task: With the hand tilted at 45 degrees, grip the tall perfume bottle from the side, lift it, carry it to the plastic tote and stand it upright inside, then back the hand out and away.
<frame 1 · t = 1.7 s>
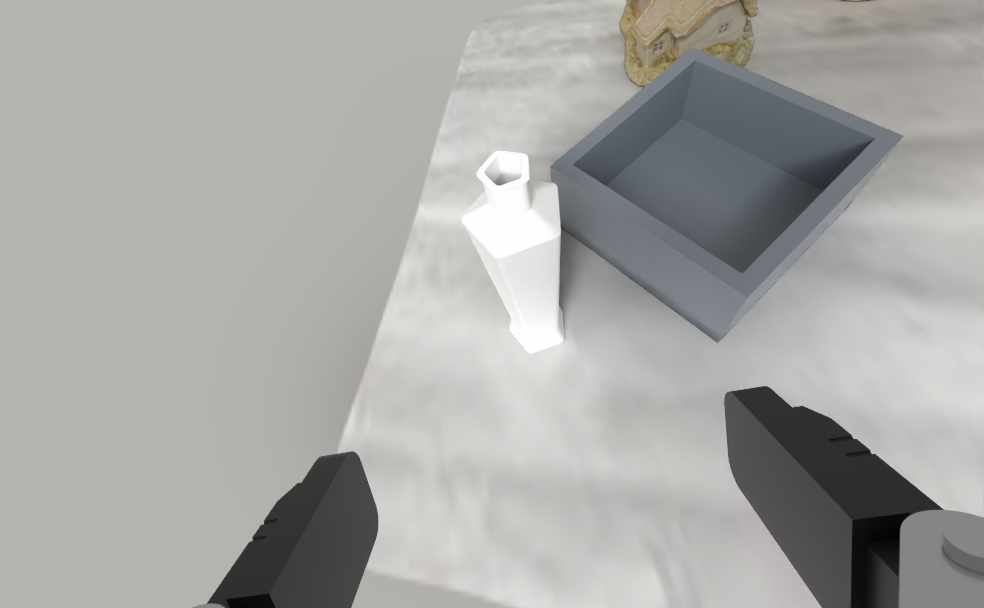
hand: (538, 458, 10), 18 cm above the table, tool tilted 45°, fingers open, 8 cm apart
tote: (694, 214, 33), on the table
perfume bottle: (535, 327, 31), on the table
ceramic model: (676, 43, 42), on the table
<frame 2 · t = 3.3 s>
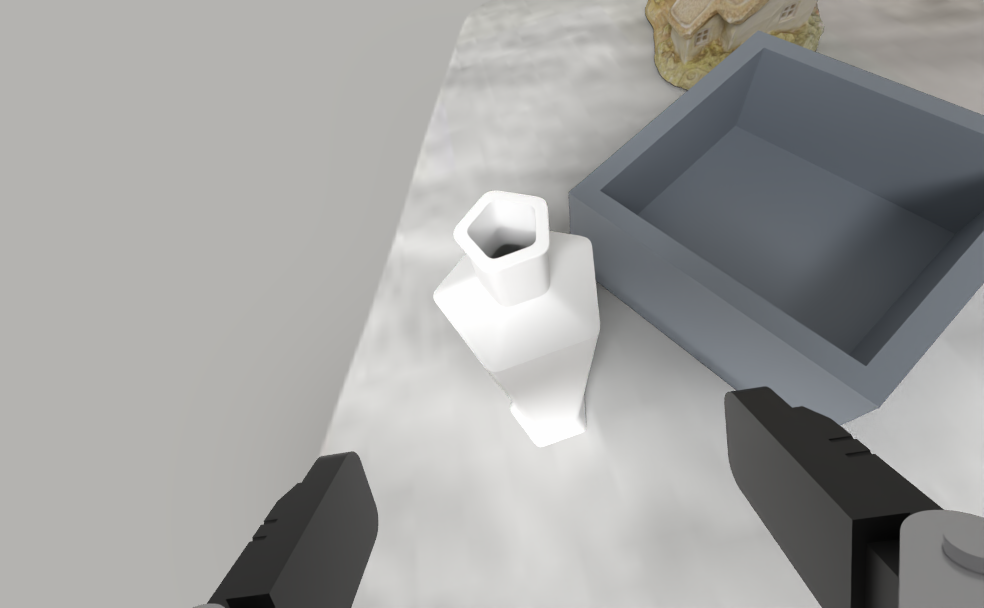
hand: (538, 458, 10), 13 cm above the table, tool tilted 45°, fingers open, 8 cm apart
tote: (758, 253, 25), on the table
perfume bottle: (546, 408, 23), on the table
ceramic model: (717, 33, 34), on the table
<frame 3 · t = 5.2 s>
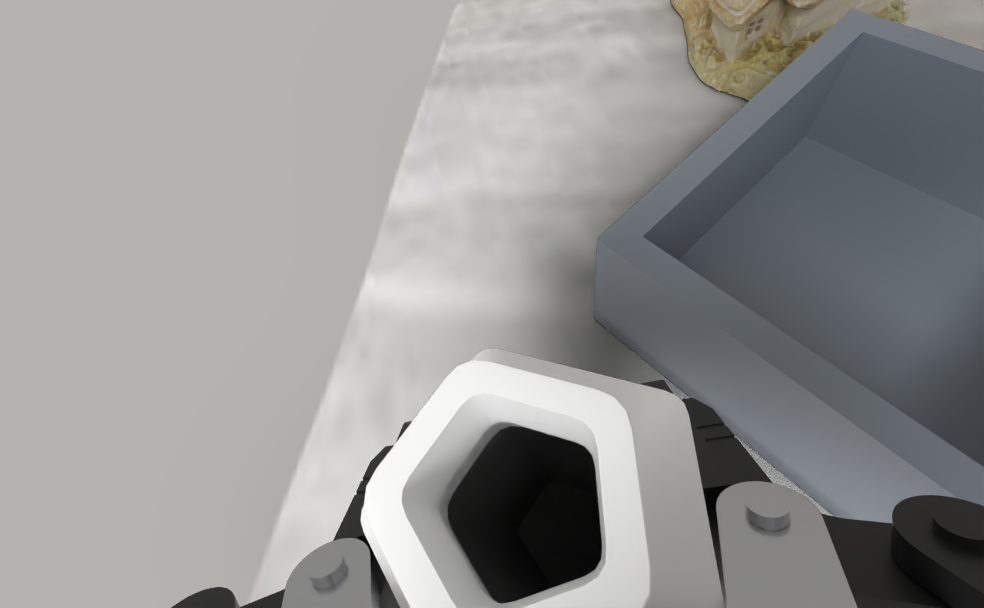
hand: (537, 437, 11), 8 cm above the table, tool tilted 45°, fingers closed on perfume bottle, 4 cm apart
tote: (848, 311, 18), on the table
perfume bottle: (564, 533, 17), on the table, touching gripper
ceramic model: (764, 24, 27), on the table
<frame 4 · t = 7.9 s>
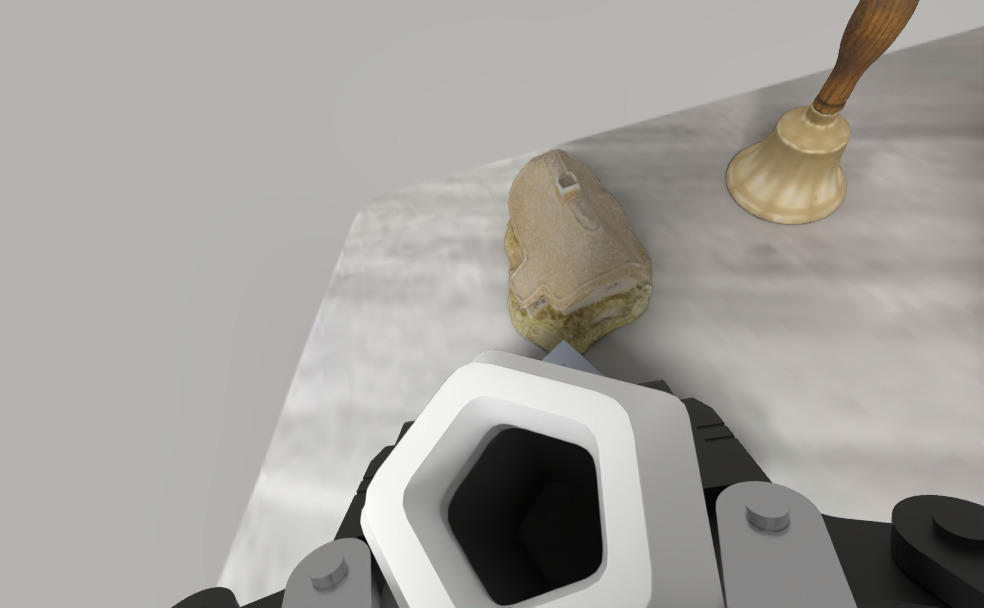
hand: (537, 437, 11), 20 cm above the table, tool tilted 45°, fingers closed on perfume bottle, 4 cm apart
tote: (569, 534, 27), on the table
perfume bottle: (563, 534, 17), point 12 cm above the table, touching gripper
hand bell: (782, 184, 36), on the table
ceramic model: (568, 268, 36), on the table
when the fingers open (10 cm above the table, at t = 10.3 s): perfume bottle drops 1 cm, resting on tote.
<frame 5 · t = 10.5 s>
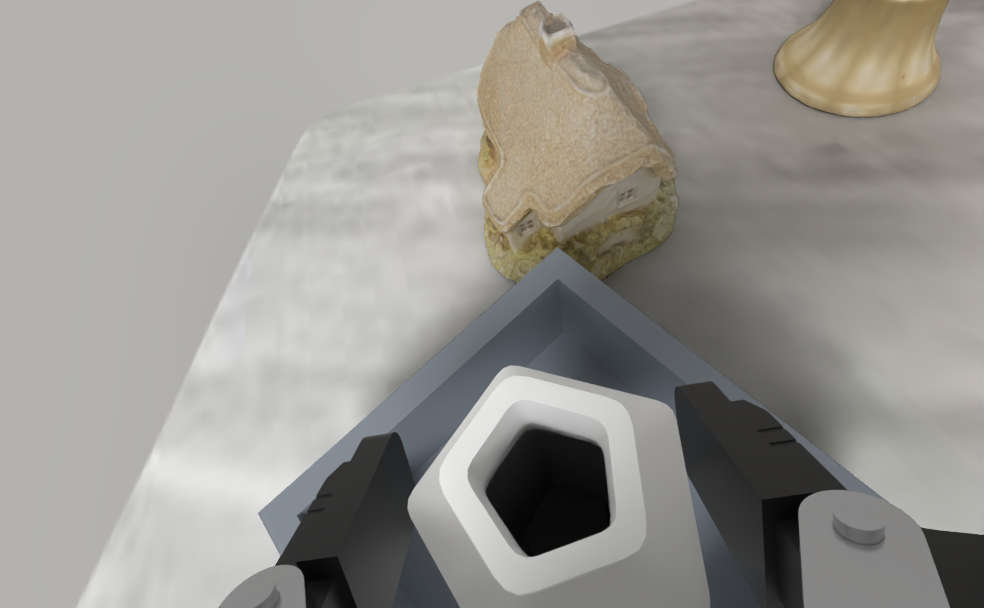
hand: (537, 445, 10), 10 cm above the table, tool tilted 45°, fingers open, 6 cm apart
tote: (567, 534, 19), on the table
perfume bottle: (565, 538, 18), point 1 cm above the table, touching tote
hand bell: (850, 71, 27), on the table
ceramic model: (563, 192, 27), on the table
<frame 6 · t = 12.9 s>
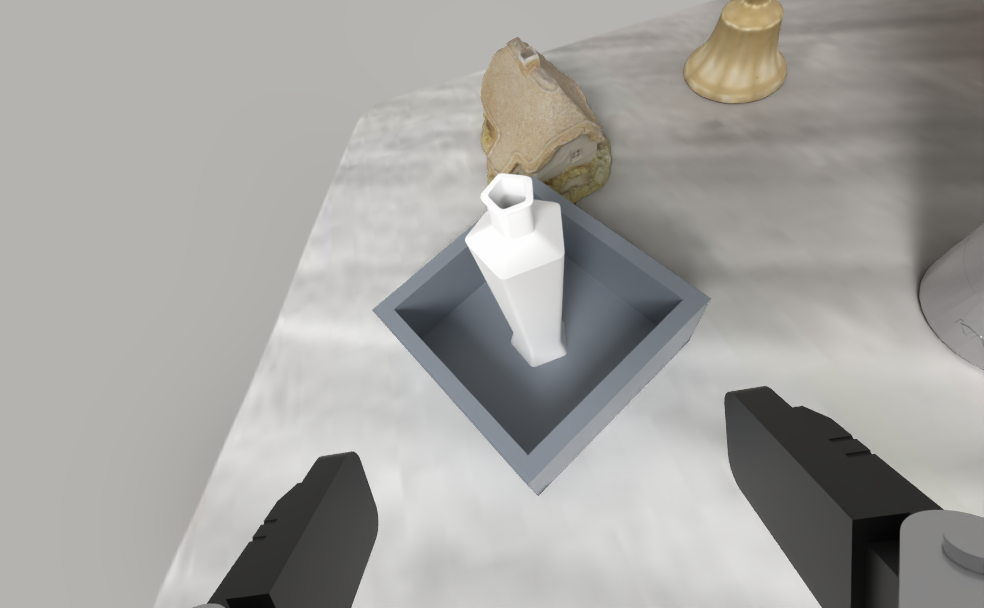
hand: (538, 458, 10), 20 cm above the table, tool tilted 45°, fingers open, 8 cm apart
tote: (539, 343, 32), on the table
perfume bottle: (537, 340, 31), point 1 cm above the table, touching tote
hand bell: (732, 73, 41), on the table
ceramic model: (539, 158, 41), on the table
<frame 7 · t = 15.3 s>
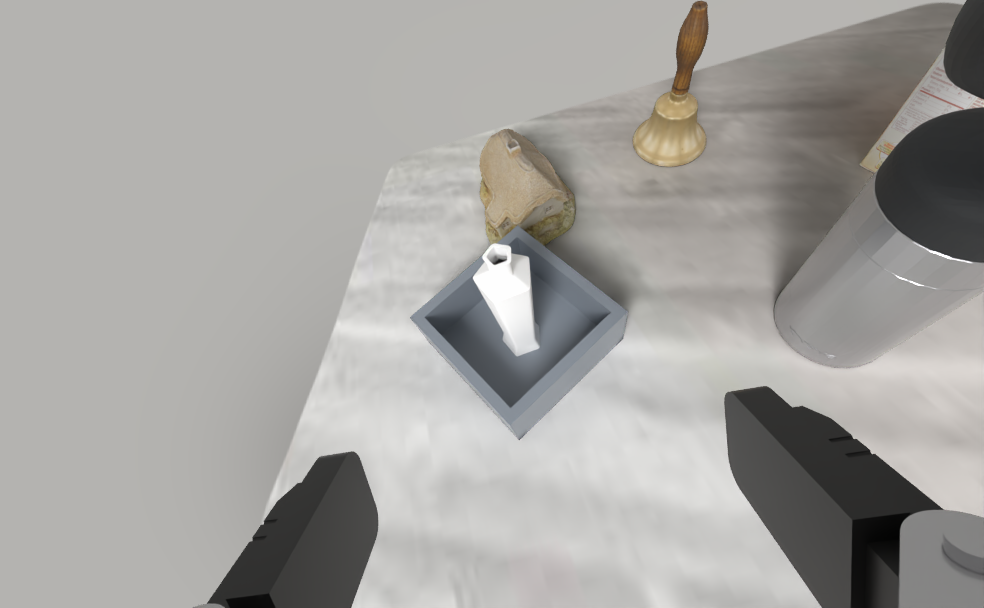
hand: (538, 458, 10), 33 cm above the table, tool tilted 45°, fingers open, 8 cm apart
tote: (522, 340, 47), on the table
coffeecake box: (931, 143, 49), on the table
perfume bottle: (520, 338, 46), point 1 cm above the table, touching tote
hand bell: (668, 142, 55), on the table
ceramic model: (523, 207, 55), on the table
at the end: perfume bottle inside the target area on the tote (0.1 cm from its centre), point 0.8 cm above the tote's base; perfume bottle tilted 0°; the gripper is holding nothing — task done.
